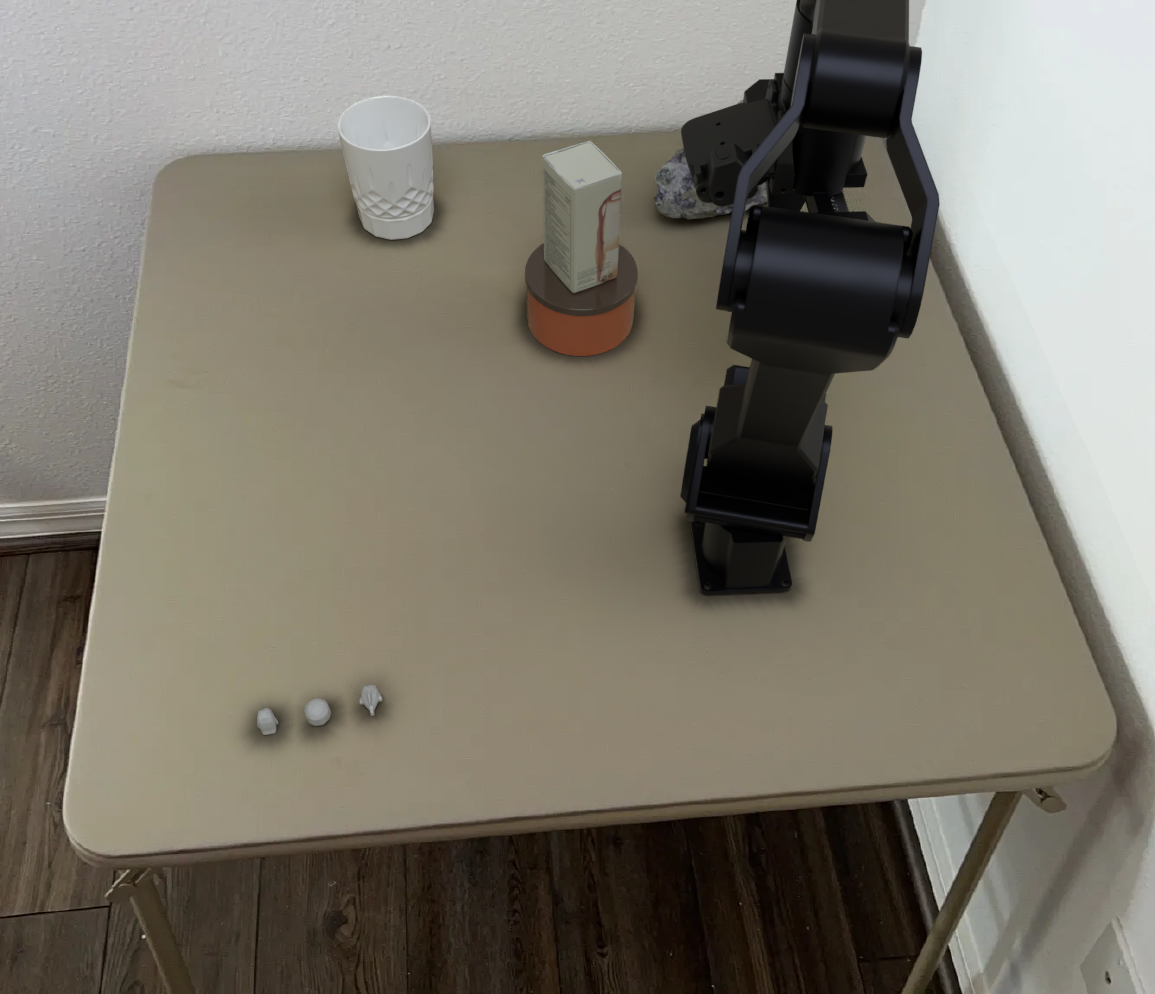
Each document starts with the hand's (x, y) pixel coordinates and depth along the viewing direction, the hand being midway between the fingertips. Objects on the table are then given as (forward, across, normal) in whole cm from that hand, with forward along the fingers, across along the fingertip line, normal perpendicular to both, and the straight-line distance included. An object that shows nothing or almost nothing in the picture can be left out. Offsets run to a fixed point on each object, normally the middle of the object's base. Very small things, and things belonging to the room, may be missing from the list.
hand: (788, 276), depth 80 cm
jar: (+13, -10, -14) cm, 22 cm away
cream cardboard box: (+8, -10, -14) cm, 19 cm away
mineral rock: (+13, -26, 0) cm, 29 cm away
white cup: (+13, -24, -30) cm, 41 cm away
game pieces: (+13, +26, -33) cm, 44 cm away
